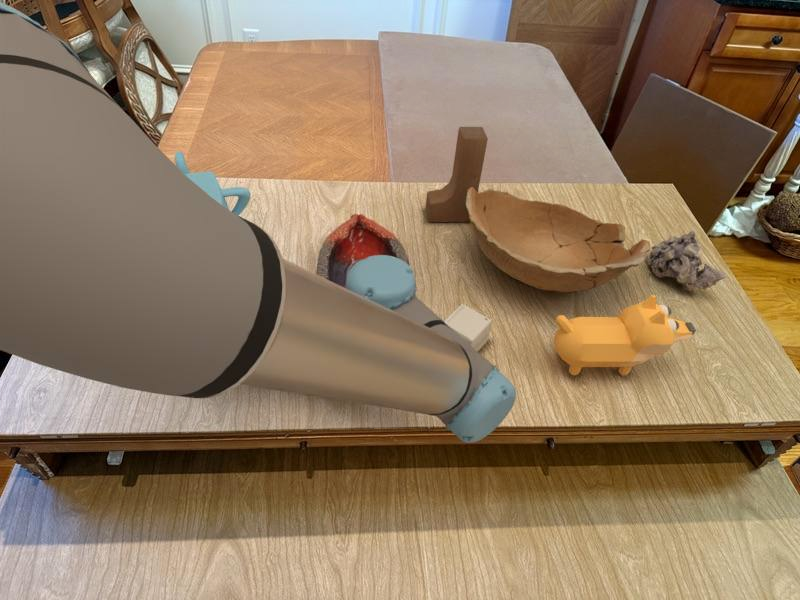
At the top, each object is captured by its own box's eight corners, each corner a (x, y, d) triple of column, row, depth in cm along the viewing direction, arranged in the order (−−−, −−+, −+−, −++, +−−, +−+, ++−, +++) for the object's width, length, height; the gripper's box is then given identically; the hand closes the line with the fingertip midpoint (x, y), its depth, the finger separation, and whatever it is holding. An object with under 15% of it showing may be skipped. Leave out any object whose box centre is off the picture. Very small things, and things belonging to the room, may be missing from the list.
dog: (680, 385, 80) (721, 325, 71) (548, 385, 78) (573, 324, 69) (659, 344, 85) (695, 284, 76) (536, 344, 84) (558, 283, 75)
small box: (458, 323, 86) (462, 302, 83) (488, 342, 84) (493, 320, 80) (437, 343, 83) (440, 322, 79) (467, 363, 80) (472, 341, 77)
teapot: (267, 240, 99) (258, 175, 89) (202, 291, 88) (184, 224, 79) (193, 208, 105) (177, 144, 95) (124, 252, 94) (98, 186, 85)
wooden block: (427, 223, 105) (437, 138, 93) (424, 209, 108) (433, 125, 96) (473, 222, 106) (488, 138, 94) (468, 209, 109) (483, 125, 97)
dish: (311, 358, 79) (309, 335, 76) (322, 231, 101) (321, 209, 98) (416, 357, 81) (418, 335, 77) (404, 232, 102) (406, 210, 99)
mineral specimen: (729, 290, 90) (720, 233, 87) (671, 304, 91) (662, 248, 89) (696, 273, 101) (688, 222, 99) (646, 286, 103) (636, 236, 100)
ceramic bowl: (606, 215, 107) (635, 155, 95) (635, 331, 91) (674, 276, 79) (455, 209, 107) (464, 148, 95) (458, 323, 92) (469, 268, 79)
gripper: (270, 419, 66) (118, 361, 71) (343, 309, 80) (212, 267, 85) (263, 381, 61) (99, 322, 66) (342, 271, 75) (202, 229, 80)
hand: (163, 291), depth 75 cm, fingers open, 8 cm apart
